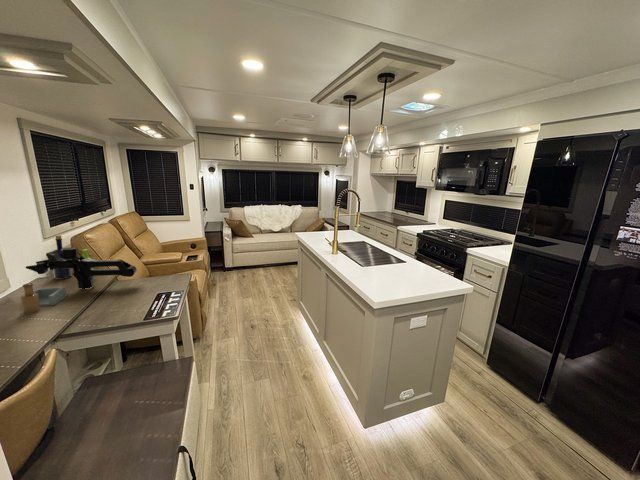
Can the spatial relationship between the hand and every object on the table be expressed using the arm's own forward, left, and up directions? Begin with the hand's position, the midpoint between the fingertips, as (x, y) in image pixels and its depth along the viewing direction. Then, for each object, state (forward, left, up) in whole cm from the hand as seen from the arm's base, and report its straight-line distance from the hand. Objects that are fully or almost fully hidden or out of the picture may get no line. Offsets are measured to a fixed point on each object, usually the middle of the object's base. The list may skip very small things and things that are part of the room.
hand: (31, 264), depth 156 cm
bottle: (-3, -24, -17) cm, 29 cm away
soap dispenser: (-17, -24, -17) cm, 34 cm away
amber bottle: (-13, +30, -17) cm, 37 cm away
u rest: (-13, +18, -17) cm, 28 cm away
